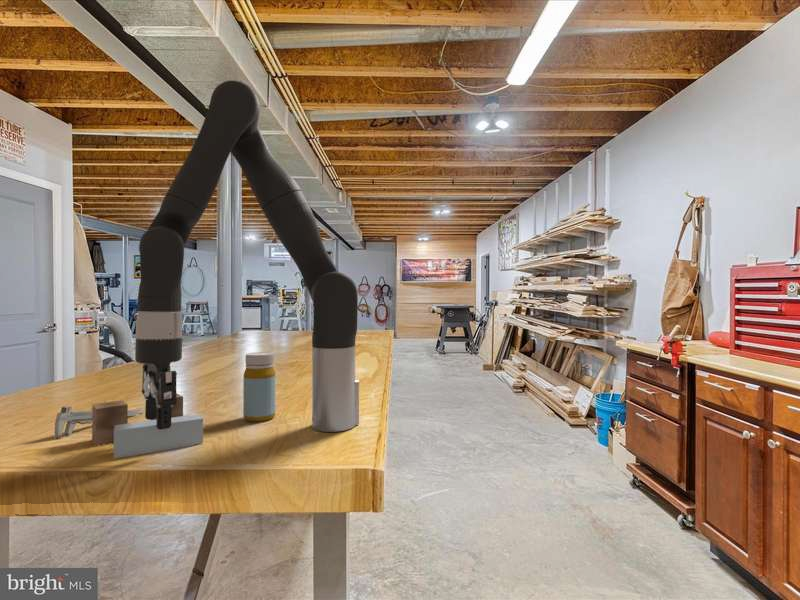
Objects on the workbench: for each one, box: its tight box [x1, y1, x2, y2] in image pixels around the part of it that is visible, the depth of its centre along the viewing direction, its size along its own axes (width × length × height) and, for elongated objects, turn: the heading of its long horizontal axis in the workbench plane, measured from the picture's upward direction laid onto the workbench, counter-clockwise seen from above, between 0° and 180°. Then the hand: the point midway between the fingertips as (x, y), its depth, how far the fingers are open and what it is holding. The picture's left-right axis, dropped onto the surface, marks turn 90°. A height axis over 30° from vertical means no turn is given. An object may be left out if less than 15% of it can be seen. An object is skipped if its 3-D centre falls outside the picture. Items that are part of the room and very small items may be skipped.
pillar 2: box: [149, 392, 184, 421], centre depth 89 cm, size 5×5×7 cm
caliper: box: [54, 406, 145, 439], centre depth 92 cm, size 20×1×6 cm, turn 166°
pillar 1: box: [91, 399, 129, 447], centre depth 82 cm, size 5×5×7 cm
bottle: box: [242, 351, 276, 423], centre depth 97 cm, size 7×7×15 cm
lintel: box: [113, 413, 204, 459], centre depth 77 cm, size 14×4×5 cm, turn 123°
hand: (157, 423), depth 78 cm, fingers open, 8 cm apart
